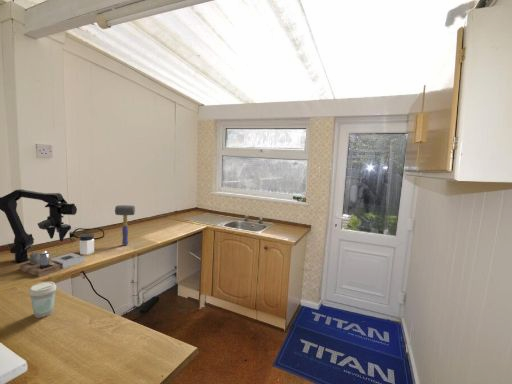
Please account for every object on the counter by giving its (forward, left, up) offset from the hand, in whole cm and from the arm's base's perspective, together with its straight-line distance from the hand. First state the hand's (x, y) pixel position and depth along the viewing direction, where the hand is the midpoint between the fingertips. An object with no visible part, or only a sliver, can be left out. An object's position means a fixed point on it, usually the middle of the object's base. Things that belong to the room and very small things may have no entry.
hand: (56, 239), depth 152 cm
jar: (+2, +17, -13) cm, 22 cm away
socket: (+8, +1, -13) cm, 15 cm away
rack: (+6, -12, -13) cm, 19 cm away
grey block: (+10, -12, -13) cm, 21 cm away
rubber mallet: (+10, +40, -13) cm, 43 cm away
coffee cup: (+51, -34, -13) cm, 63 cm away
